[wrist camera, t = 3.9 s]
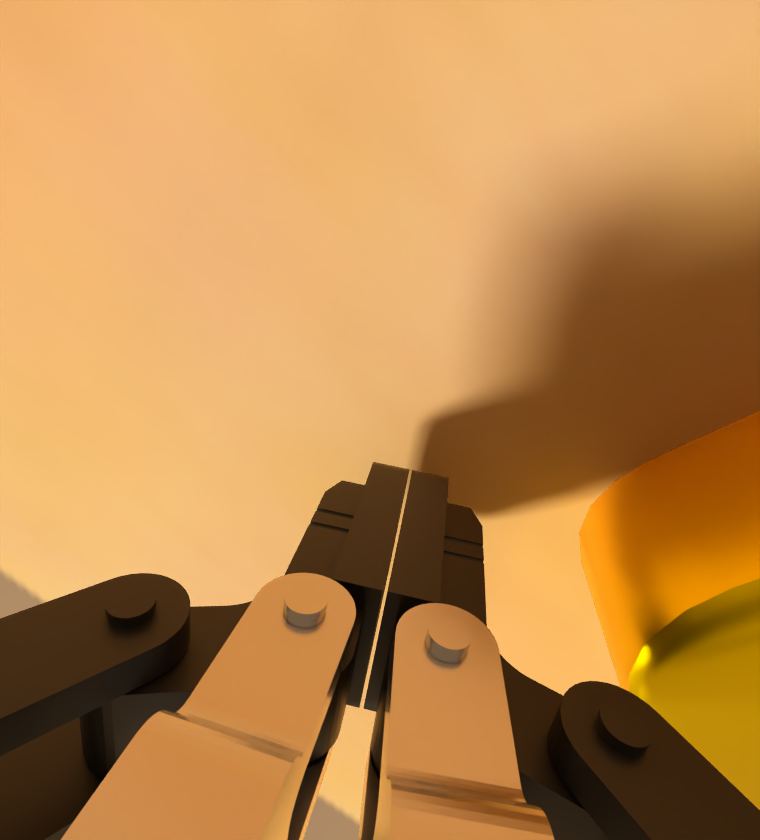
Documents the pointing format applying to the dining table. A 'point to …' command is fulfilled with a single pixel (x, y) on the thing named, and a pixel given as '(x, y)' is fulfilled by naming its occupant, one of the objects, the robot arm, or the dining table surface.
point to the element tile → (687, 592)
